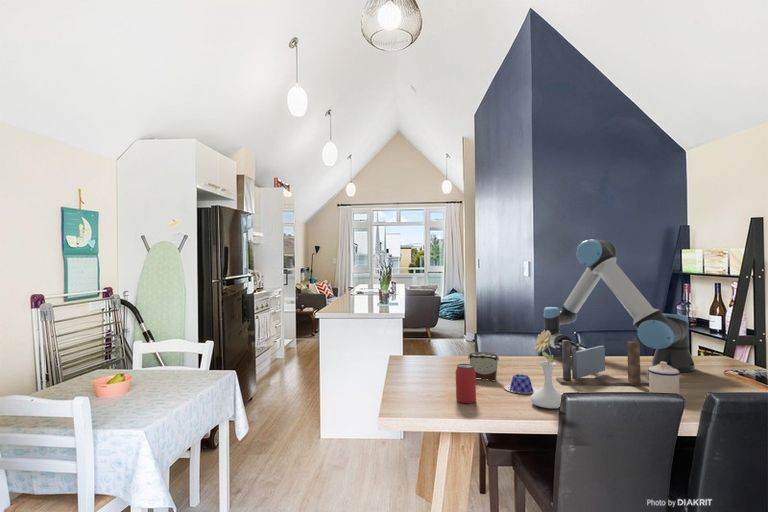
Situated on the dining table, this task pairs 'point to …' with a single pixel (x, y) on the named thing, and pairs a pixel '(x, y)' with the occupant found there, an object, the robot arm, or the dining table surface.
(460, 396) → the beer can
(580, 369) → the gate leaf
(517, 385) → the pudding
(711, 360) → the dining table surface
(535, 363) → the dining table surface
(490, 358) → the food container
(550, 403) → the flower in vase
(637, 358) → the gate frame
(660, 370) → the teacup with lid
